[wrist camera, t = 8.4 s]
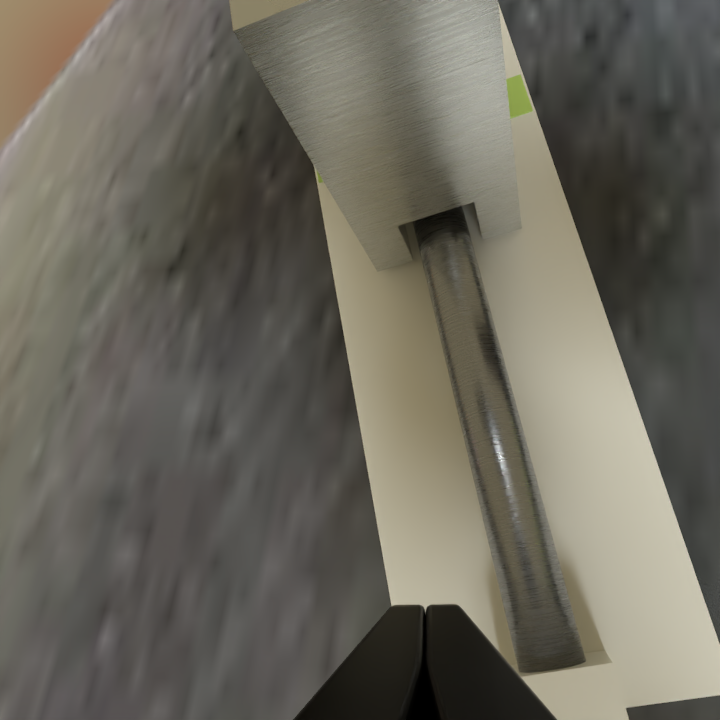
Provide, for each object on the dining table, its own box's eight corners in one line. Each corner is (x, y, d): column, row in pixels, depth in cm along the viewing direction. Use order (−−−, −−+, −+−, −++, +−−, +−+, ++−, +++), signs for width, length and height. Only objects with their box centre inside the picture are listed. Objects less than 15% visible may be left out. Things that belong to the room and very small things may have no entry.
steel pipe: (588, 655, 18) (591, 664, 16) (517, 666, 18) (512, 677, 16) (421, 47, 26) (411, 8, 24) (375, 65, 27) (362, 27, 25)
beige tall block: (521, 228, 23) (490, -73, 12) (377, 271, 24) (233, 31, 13) (487, 118, 24) (434, -227, 14) (355, 163, 26) (212, -125, 15)
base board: (730, 689, 18) (767, 713, 15) (418, 732, 20) (392, 761, 16) (499, 13, 27) (491, -59, 24) (303, 86, 29) (272, 28, 26)
